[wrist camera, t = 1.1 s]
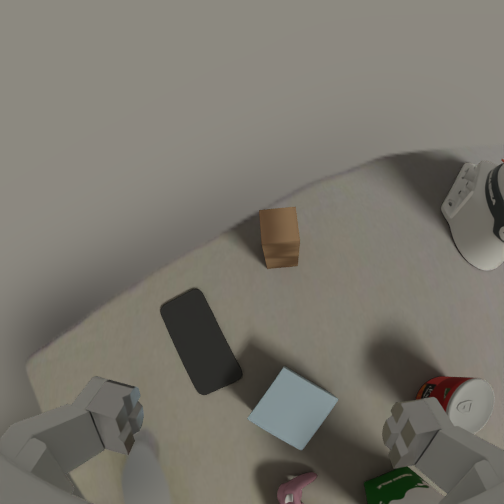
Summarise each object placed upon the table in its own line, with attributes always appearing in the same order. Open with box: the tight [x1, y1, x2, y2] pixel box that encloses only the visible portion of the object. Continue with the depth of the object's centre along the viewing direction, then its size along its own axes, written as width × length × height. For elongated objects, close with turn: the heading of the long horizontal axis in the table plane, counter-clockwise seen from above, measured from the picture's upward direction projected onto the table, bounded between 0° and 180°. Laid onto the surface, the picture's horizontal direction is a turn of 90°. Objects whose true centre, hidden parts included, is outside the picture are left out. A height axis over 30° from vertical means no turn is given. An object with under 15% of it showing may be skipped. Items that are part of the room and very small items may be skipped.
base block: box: [247, 366, 338, 450], centre depth 34 cm, size 8×8×6 cm
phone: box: [161, 289, 242, 395], centre depth 42 cm, size 7×1×15 cm
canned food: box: [416, 377, 495, 434], centre depth 29 cm, size 8×8×11 cm
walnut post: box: [259, 207, 300, 269], centre depth 40 cm, size 4×4×10 cm
